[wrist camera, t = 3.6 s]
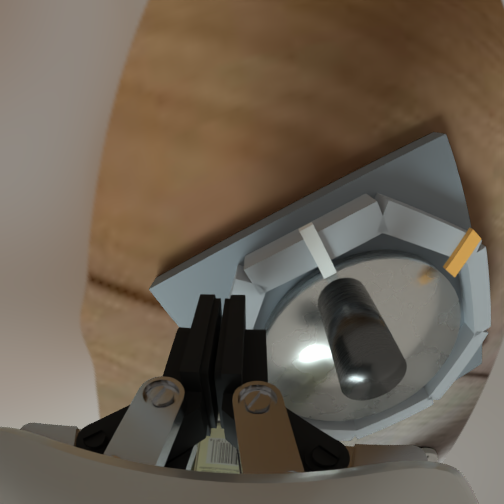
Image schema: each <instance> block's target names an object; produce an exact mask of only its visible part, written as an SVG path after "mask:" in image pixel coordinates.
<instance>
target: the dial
mask: <svg viewBox="0 0 504 504" xmlns="http://www.w3.org/2000/svg"><path fill="white" fill-rule="evenodd" d="M332 263H333V265H334V267H335V270H336V272H337V273H335V274H333V275H331V276H329V277H327V278H325V279H324V278H323V276H322V274H321V272H320V270H319V269H317V270H316V271H314V272H312V273H311V274H309V275H308V276H307V277H305V278H304V279H303V280H301V281H300V282H298V283H297V284H296V285H295V286H294V287H293V288H292V289H291V290H290V291H289V292H288V293H287V294H286V295H285V296H284V297H283V298H282V300H281V301H280V302H279V303H278V304H277V306H276V307H275V309H274V310H273V312H272V313H271V315H270V317H269V319H268V321H267V323H266V325H265V327H264V329H266V345H267V368H268V383H270V384H272V385H274V386H276V387H277V388H278V389H279V390H280V392H281V394H282V396H283V400H284V403H285V407H286V408H288V409H289V410H291V411H292V412H294V413H295V414H297V415H300V416H303V417H306V418H311V419H315V420H323V421H344V420H352V419H358V418H363V417H367V416H370V415H373V414H377V413H379V412H382V411H384V410H387V409H389V408H391V407H393V406H395V405H397V404H399V403H401V402H403V401H404V400H406V399H407V398H409V397H411V396H412V395H413V394H415V393H416V392H417V391H419V390H420V389H421V388H422V387H423V386H424V385H426V384H427V383H428V382H429V381H430V380H431V379H432V378H433V377H434V376H435V375H436V373H437V372H438V371H439V370H440V368H441V367H442V366H443V364H444V363H445V361H446V360H447V358H448V357H449V355H450V353H451V351H452V349H453V347H454V345H455V342H456V339H457V336H458V332H459V328H460V320H461V311H460V304H459V299H458V296H457V294H456V291H455V289H454V288H453V286H452V285H451V283H450V282H449V280H448V279H447V278H446V277H445V276H444V275H443V274H442V273H441V272H440V271H439V270H438V269H436V268H435V267H434V266H433V265H432V264H431V263H429V262H428V261H426V260H425V259H423V258H421V257H419V256H417V255H414V254H412V253H408V252H403V251H398V250H371V251H365V252H360V253H355V254H352V255H349V256H346V257H343V258H340V259H338V260H335V261H333V262H332Z"/></svg>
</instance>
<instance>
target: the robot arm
mask: <svg viewBox="0 0 504 504" xmlns="http://www.w3.org/2000/svg"><path fill="white" fill-rule="evenodd" d="M218 413H219V417H220V424H221V429H224V433H225V439H226V440H227V441H228V442H229V443H230V444H231V445H233V446H234V447H235V448H236V453H237V460H238V466H239V473H240V474H233V473H214V472H202V471H191V467H192V464H193V461H194V458H195V455H196V452H197V449H198V443H199V442H201V441H202V440H204V439H205V438H206V436H210V435H211V428H217V423H218ZM437 461H438V456H437V453H436V451H435V450H434V449H431V448H419V447H417V446H413V445H364V444H355V446H354V447H351V446H344V445H343V444H342V443H341V442H339V441H338V440H336V439H334V438H333V437H331V436H329V435H328V434H326V433H325V432H323V431H321V430H320V429H318V428H317V427H315V426H313V425H312V424H310V423H309V422H307V421H306V420H304V419H303V418H301V417H300V416H298V415H297V414H295V413H294V412H292V411H291V410H289V409H288V408H286V407H285V403H284V400H283V396H282V394H281V392H280V390H279V389H278V388H277V387H276V386H274V385H272V384H270V383H268V368H267V345H266V329H246V297H245V295H231V296H230V299H228V298H225V302H224V308H223V315H222V306H221V298H216V296H215V294H200V297H199V300H198V304H197V307H196V311H195V314H194V318H193V322H192V325H191V328H184V327H179V328H178V330H177V333H176V336H175V339H174V342H173V345H172V348H171V352H170V355H169V358H168V361H167V364H166V367H165V371H164V374H163V376H161V377H155V378H152V379H149V380H148V381H146V382H145V383H143V385H142V386H141V387H140V388H139V390H138V392H137V394H136V395H135V397H134V399H133V401H132V403H131V404H130V405H129V406H127V407H125V408H123V409H121V410H119V411H116V412H114V413H112V414H110V415H108V416H106V417H104V418H102V419H100V420H98V421H96V422H94V423H91V424H89V425H88V426H86V427H84V428H83V429H78V428H77V427H76V426H62V425H50V424H41V423H28V424H26V425H24V426H23V427H22V428H21V429H16V428H10V427H0V504H479V503H478V500H477V498H476V496H475V494H474V491H473V490H472V488H471V486H470V484H469V483H468V481H467V479H466V478H465V476H464V475H463V474H462V473H461V472H460V471H459V470H457V469H456V468H454V467H452V466H449V465H447V464H443V463H438V462H437Z"/></svg>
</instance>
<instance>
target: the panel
mask: <svg viewBox="0 0 504 504" xmlns="http://www.w3.org/2000/svg"><path fill="white" fill-rule="evenodd" d="M481 242H482V240H481V238H480V237H479V236H478V234H477V233H476V232H475V231H474V230H473V229H471V223H470V218H469V214H468V209H467V205H466V200H465V196H464V192H463V188H462V184H461V180H460V177H459V173H458V170H457V166H456V163H455V160H454V156H453V153H452V150H451V147H450V144H449V141H448V138H447V135H446V134H444V133H436V132H433V133H431V134H429V135H427V136H425V137H422V138H420V139H418V140H416V141H414V142H412V143H410V144H408V145H406V146H404V147H402V148H400V149H398V150H396V151H394V152H392V153H390V154H388V155H386V156H384V157H382V158H380V159H378V160H376V161H374V162H372V163H370V164H368V165H366V166H364V167H362V168H360V169H358V170H356V171H354V172H352V173H350V174H348V175H346V176H344V177H342V178H341V179H339V180H337V181H335V182H333V183H331V184H329V185H327V186H325V187H323V188H321V189H319V190H317V191H315V192H313V193H312V194H310V195H308V196H306V197H304V198H302V199H300V200H298V201H296V202H294V203H292V204H291V205H289V206H287V207H285V208H283V209H281V210H279V211H277V212H275V213H274V214H272V215H270V216H268V217H266V218H264V219H262V220H260V221H259V222H257V223H255V224H253V225H251V226H249V227H247V228H246V229H244V230H242V231H240V232H238V233H236V234H234V235H233V236H231V237H229V238H227V239H225V240H223V241H222V242H220V243H218V244H216V245H214V246H212V247H211V248H209V249H207V250H205V251H203V252H202V253H200V254H198V255H196V256H194V257H192V258H191V259H189V260H187V261H185V262H183V263H182V264H180V265H178V266H176V267H175V268H173V269H171V270H169V271H167V272H166V273H164V274H162V275H160V276H158V277H157V278H155V280H154V282H153V283H152V285H151V287H150V288H149V290H150V291H151V292H152V294H153V295H154V296H155V298H156V299H157V300H158V301H159V303H160V304H161V305H162V306H163V308H164V309H165V310H166V311H167V313H168V314H169V315H170V316H171V318H172V319H173V320H174V321H175V322H176V324H177V325H178V326H179V327H184V328H191V325H192V322H193V318H194V314H195V311H196V307H197V304H198V300H199V297H200V294H215V296H216V298H221V306H222V315H223V308H224V302H225V298H228V299H230V296H231V295H245V297H246V329H264V327H265V325H266V323H267V321H268V319H269V317H270V315H271V313H272V312H273V310H274V309H275V307H276V306H277V304H278V303H279V302H280V301H281V300H282V298H283V297H284V296H285V295H286V294H287V293H288V292H289V291H290V290H291V289H292V288H293V287H294V286H295V285H296V284H297V283H298V282H300V281H301V280H303V279H304V278H305V277H307V276H308V275H309V274H311V273H312V272H314V271H316V270H317V269H319V270H320V272H321V274H322V276H323V278H324V279H325V278H327V277H329V276H331V275H333V274H335V273H337V272H336V270H335V267H334V265H333V263H332V262H333V261H335V260H338V259H340V258H343V257H346V256H349V255H352V254H355V253H360V252H365V251H371V250H398V251H403V252H408V253H412V254H414V255H417V256H419V257H421V258H423V259H425V260H426V261H428V262H429V263H431V264H432V265H433V266H434V267H435V268H436V269H438V270H439V271H440V272H441V273H442V274H443V275H444V276H445V277H446V278H447V279H448V280H449V282H450V283H451V285H452V286H453V288H454V289H455V291H456V294H457V296H458V299H459V304H460V311H461V320H460V328H459V332H458V336H457V339H456V342H455V345H454V347H453V349H452V351H451V353H450V355H449V357H448V358H447V360H446V361H445V363H444V364H443V366H442V367H441V368H440V370H439V371H438V372H437V373H436V375H435V376H434V377H433V378H432V379H431V380H430V381H429V382H428V383H427V384H426V385H424V386H423V387H422V388H421V389H420V390H419V391H417V392H416V393H415V394H413V395H412V396H411V397H409V398H407V399H406V400H404V401H403V402H401V403H399V404H397V405H395V406H393V407H391V408H389V409H387V410H384V411H382V412H379V413H377V414H373V415H370V416H367V417H363V418H358V419H352V420H344V421H323V420H315V419H311V418H306V417H303V416H300V415H298V416H300V417H301V418H303V419H304V420H306V421H307V422H309V423H310V424H312V425H313V426H315V427H317V428H318V429H320V430H321V431H323V432H325V433H326V434H328V435H329V436H331V437H333V438H334V439H336V440H343V441H351V440H352V439H353V437H354V436H356V438H357V439H359V438H362V437H364V436H367V435H369V434H372V433H374V432H377V431H379V430H381V429H384V428H386V427H388V426H390V425H393V424H395V423H397V422H399V421H401V420H403V419H405V418H408V417H410V416H412V415H414V414H416V413H418V412H420V411H421V410H423V409H425V408H427V407H429V406H431V405H433V400H439V399H440V398H441V397H442V396H443V394H444V393H445V392H446V391H447V390H448V388H449V387H450V386H451V385H452V383H453V382H454V381H455V380H457V379H458V378H460V377H462V376H463V375H465V374H466V373H468V372H469V371H471V370H472V369H474V368H475V367H477V366H478V365H480V364H481V363H482V342H483V341H484V339H485V338H486V336H487V334H488V332H487V331H486V329H488V328H489V327H490V326H491V303H490V283H489V271H488V261H487V252H486V247H485V246H484V245H483V244H481Z"/></svg>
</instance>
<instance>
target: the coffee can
mask: <svg viewBox="0 0 504 504" xmlns="http://www.w3.org/2000/svg"><path fill="white" fill-rule="evenodd" d="M191 471H202V472H214V473H233V474H240V473H239V466H238V460H237V453H236V448H235V447H234V446H233V445H231V444H230V443H229V442H228V441H227V440H226V439H225V433H224V429H221V424H220V417H219V414H218V423H217V428H211V435H210V436H206V438H205V439H204V440H202V441H201V442H199V443H198V449H197V452H196V455H195V458H194V461H193V464H192V467H191Z"/></svg>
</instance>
